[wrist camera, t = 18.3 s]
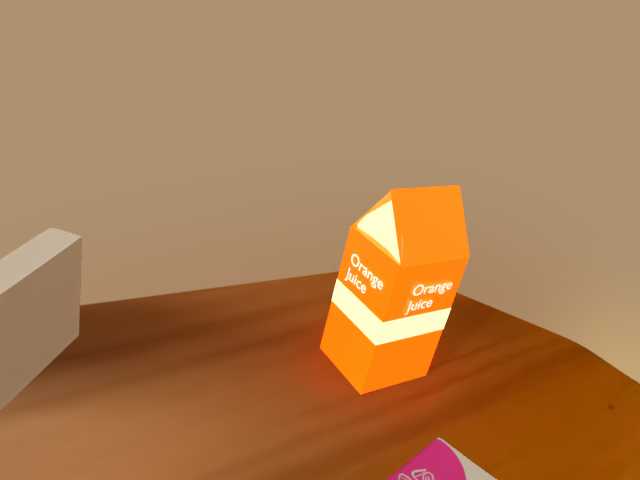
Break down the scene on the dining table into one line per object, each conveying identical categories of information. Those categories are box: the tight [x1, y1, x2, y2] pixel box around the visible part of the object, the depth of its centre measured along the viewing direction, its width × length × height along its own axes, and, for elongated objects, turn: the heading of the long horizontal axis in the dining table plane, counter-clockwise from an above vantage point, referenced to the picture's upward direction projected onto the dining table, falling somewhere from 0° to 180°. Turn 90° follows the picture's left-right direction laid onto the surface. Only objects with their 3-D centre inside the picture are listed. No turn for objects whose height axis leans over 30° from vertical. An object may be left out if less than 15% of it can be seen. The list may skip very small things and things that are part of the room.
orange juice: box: [320, 185, 470, 394], centre depth 59 cm, size 8×9×20 cm
